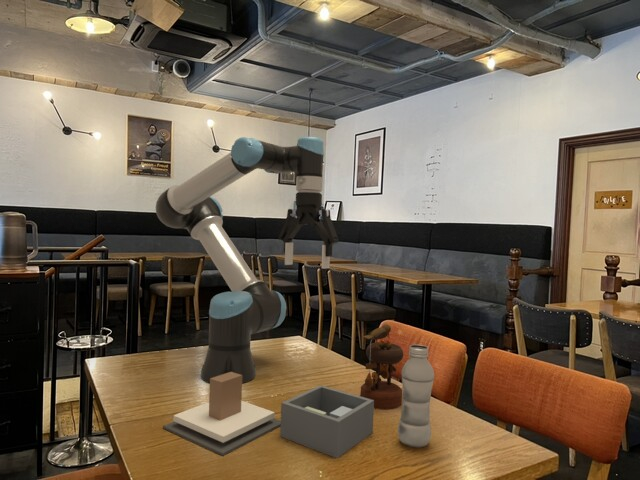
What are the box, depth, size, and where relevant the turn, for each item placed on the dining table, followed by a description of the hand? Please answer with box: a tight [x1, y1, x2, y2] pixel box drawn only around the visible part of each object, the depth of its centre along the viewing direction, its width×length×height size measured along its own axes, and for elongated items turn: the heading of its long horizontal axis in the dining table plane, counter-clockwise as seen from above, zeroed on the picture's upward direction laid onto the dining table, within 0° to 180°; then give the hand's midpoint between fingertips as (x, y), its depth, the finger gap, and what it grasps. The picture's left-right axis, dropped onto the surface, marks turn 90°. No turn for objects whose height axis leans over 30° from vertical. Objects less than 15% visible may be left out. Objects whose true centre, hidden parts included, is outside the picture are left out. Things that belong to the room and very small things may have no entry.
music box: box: [359, 323, 404, 410], centre depth 117 cm, size 15×11×20 cm
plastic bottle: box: [397, 344, 435, 448], centre depth 94 cm, size 6×7×20 cm
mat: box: [162, 418, 281, 457], centre depth 98 cm, size 18×18×1 cm
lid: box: [172, 372, 276, 443], centre depth 98 cm, size 15×15×10 cm
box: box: [279, 384, 375, 459], centre depth 96 cm, size 14×14×7 cm
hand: (306, 266), depth 132 cm, fingers open, 13 cm apart
